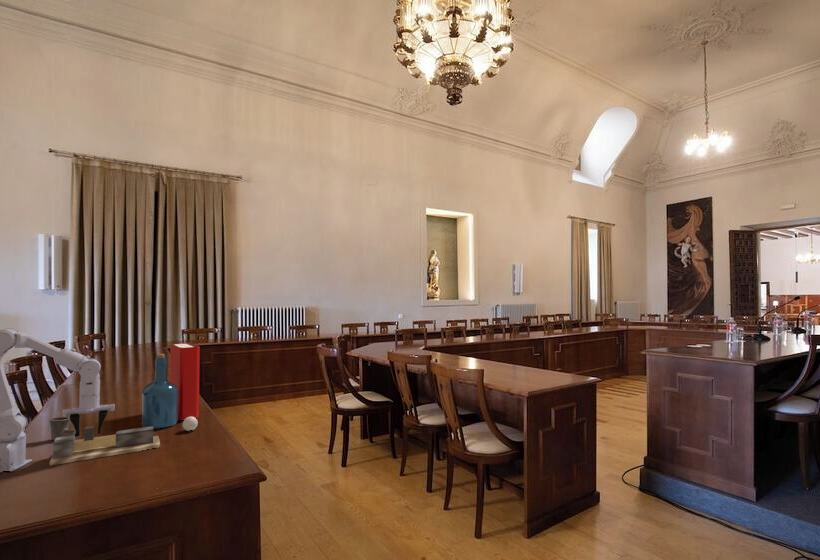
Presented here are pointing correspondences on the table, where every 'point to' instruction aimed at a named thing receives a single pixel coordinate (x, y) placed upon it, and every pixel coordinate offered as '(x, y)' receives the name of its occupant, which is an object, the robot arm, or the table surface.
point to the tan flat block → (93, 440)
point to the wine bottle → (160, 399)
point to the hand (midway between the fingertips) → (88, 434)
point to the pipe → (61, 427)
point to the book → (186, 377)
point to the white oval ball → (190, 423)
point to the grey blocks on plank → (124, 444)
